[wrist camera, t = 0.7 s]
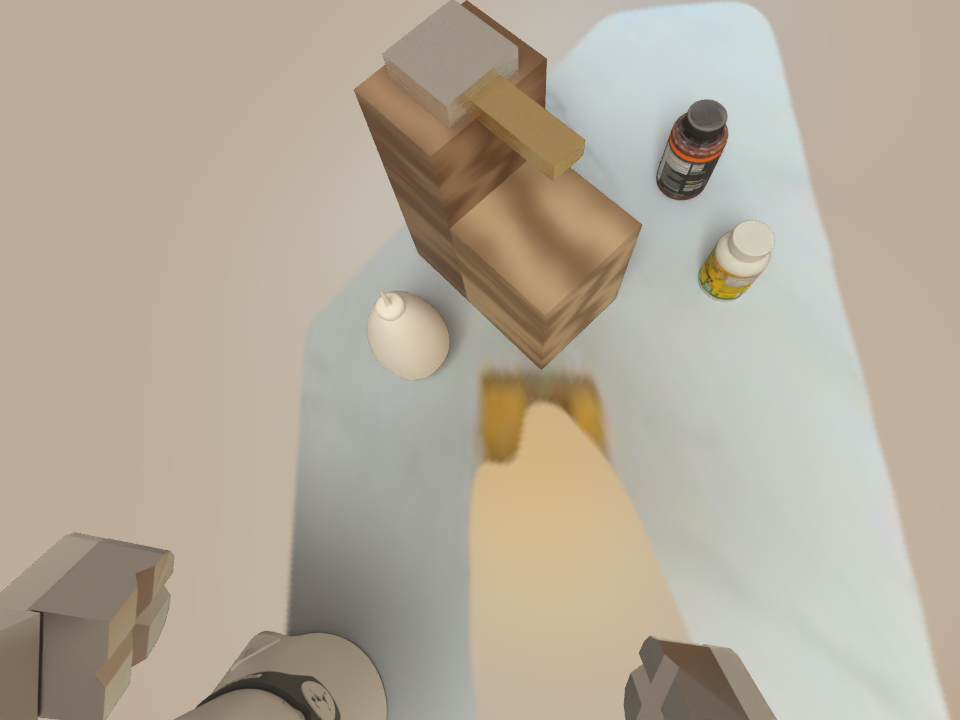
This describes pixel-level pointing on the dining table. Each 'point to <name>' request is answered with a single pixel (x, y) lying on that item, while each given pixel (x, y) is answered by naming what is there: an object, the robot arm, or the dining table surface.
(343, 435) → the dining table surface
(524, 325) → the stepped stand
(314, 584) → the dining table surface
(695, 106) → the supplement bottle
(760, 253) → the supplement bottle
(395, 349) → the sauce bottle
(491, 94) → the lever cap
